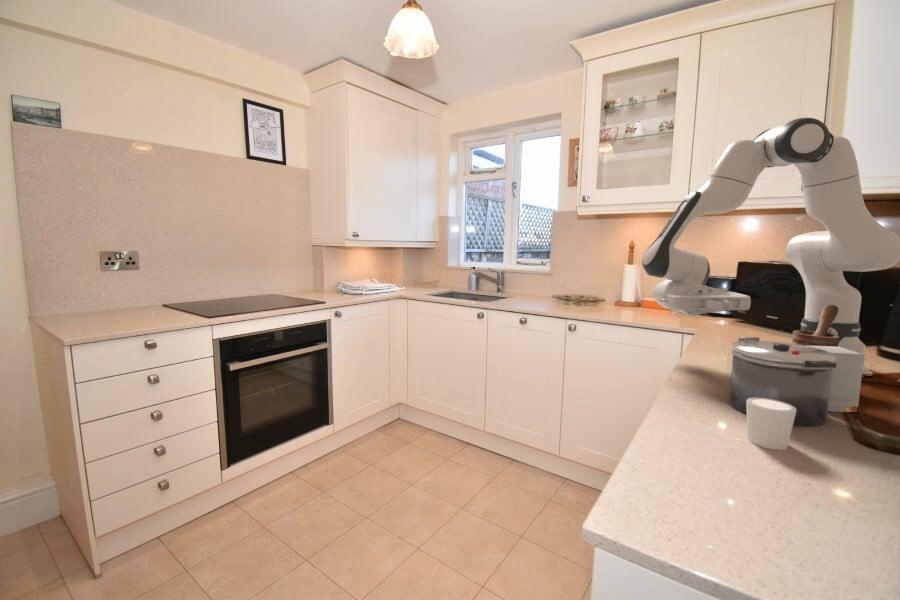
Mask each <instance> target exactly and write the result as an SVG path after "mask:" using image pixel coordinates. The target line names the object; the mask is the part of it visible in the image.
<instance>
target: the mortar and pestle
mask: <svg viewBox="0 0 900 600" xmlns="http://www.w3.org/2000/svg"><path fill="white" fill-rule="evenodd" d="M837 313H838V307H837V306H834V305H826V306H825V307H824V308H823V310H822V313H821V317H820V321H819V324H818V327H817V330H816V331H804V330H801V329H799V330H798V329H797V330H793V331H792V338H791V340H792V342H791V344H797V345H803V346H835V347H838V345H839V336H837V335H833V334H829V333H828V329H829V327H830V325H831V323H832V322H833V321H834V319H835V317H836V316H837Z"/></svg>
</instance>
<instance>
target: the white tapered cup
mask: <svg viewBox="0 0 900 600" xmlns="http://www.w3.org/2000/svg"><path fill="white" fill-rule="evenodd" d="M746 402H747V415H746V436H747V441H750V442H751V443H752V444H754V445H756V446H758V447H762V448H766V449H769V450H770V449H771V450H774V451H775V450H777V451H778V450H780V451H782V450H786V449H787V448H788V447H789V443H790V438H791V435H792V430H793V427H794V426H793V423H794V419H795V414H796V408H795V407H794V406H792V405H790V404H787V403H784V402H781V401H777V400H773V399H767V398H749V399H747V400H746Z"/></svg>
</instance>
